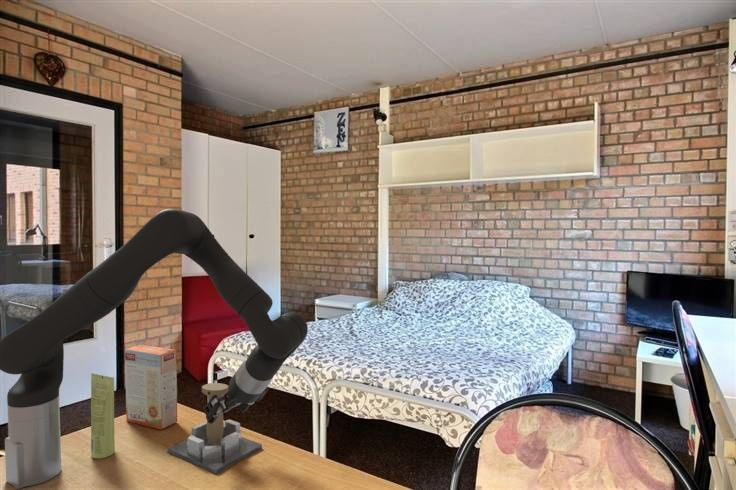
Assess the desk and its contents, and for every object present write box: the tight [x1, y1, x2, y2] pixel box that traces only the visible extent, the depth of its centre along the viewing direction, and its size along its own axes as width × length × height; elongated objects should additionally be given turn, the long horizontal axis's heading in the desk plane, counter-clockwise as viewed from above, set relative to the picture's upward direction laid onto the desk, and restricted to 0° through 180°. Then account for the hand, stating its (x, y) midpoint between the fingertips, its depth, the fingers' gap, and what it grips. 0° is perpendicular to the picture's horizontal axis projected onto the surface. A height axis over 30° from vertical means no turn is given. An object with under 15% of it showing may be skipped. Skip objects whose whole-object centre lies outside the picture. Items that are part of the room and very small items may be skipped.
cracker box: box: [124, 344, 178, 431], centre depth 128 cm, size 14×6×21 cm, turn 65°
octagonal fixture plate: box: [166, 419, 263, 475], centre depth 113 cm, size 14×18×5 cm
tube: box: [90, 372, 116, 459], centre depth 110 cm, size 6×5×20 cm
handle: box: [201, 382, 229, 446], centre depth 112 cm, size 5×6×15 cm
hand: (225, 414), depth 109 cm, fingers open, 8 cm apart
